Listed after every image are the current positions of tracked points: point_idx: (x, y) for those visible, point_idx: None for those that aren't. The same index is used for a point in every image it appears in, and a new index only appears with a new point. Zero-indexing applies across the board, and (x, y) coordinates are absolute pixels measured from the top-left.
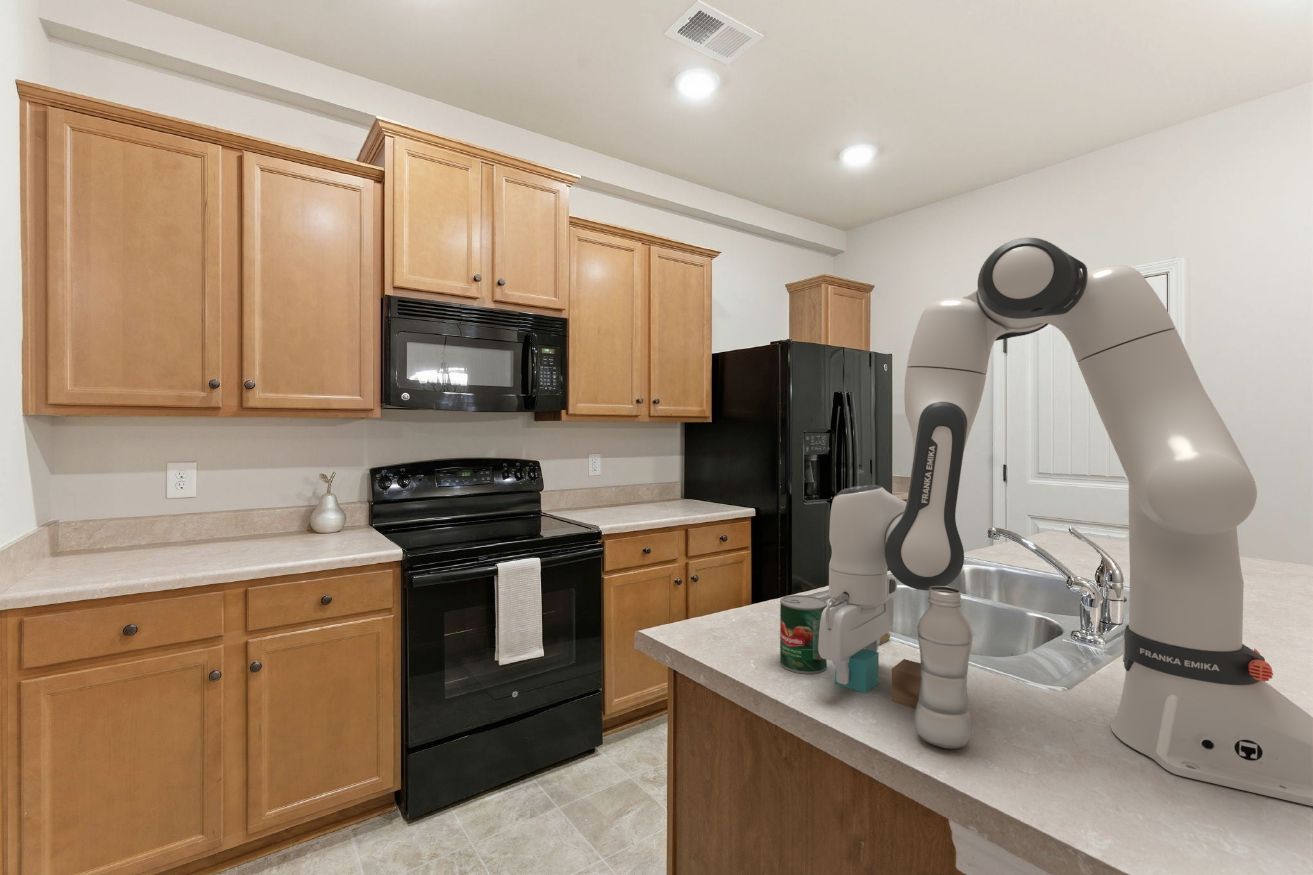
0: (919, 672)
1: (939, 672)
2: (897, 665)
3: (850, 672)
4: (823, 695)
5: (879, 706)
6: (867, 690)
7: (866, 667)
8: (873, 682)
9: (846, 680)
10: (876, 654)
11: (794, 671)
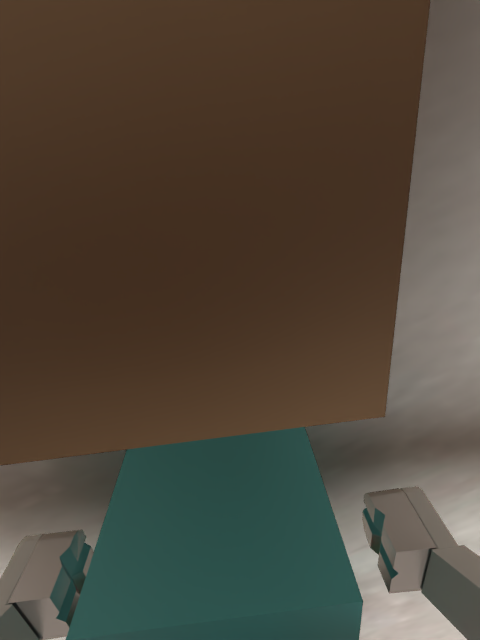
0: (236, 41)
1: None
2: (237, 420)
3: (409, 544)
4: (440, 484)
5: (406, 291)
6: None
7: (327, 539)
8: None
9: (430, 505)
10: (116, 626)
11: None
